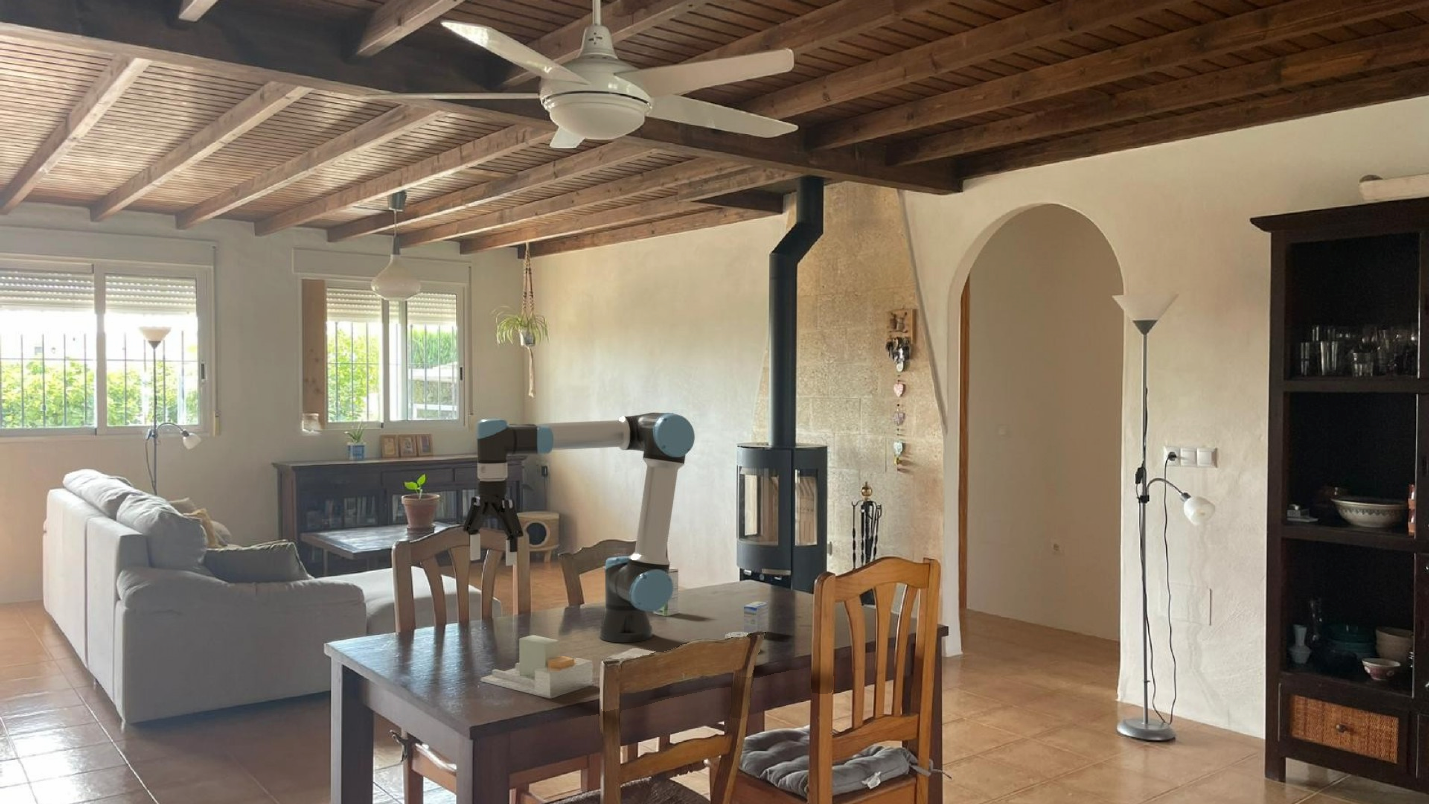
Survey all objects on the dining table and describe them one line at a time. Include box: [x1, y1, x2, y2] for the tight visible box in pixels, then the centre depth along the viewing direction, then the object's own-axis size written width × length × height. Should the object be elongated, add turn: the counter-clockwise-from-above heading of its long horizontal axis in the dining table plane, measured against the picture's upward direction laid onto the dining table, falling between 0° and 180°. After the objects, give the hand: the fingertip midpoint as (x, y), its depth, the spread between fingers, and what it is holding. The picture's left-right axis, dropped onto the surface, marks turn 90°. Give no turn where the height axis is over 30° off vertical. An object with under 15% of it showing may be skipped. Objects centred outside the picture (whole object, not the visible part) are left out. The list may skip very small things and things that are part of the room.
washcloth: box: [606, 647, 655, 660], centre depth 273 cm, size 12×18×3 cm, turn 56°
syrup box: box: [653, 566, 679, 617], centre depth 332 cm, size 6×6×14 cm
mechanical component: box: [724, 631, 748, 639], centre depth 287 cm, size 10×4×10 cm
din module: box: [518, 634, 560, 679], centre depth 255 cm, size 4×9×10 cm, turn 52°
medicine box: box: [743, 601, 770, 633], centre depth 305 cm, size 8×4×9 cm, turn 152°
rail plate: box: [480, 657, 594, 700], centre depth 256 cm, size 14×24×6 cm, turn 53°
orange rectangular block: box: [548, 655, 574, 669], centre depth 250 cm, size 5×4×6 cm
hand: (492, 562), depth 270 cm, fingers open, 13 cm apart
